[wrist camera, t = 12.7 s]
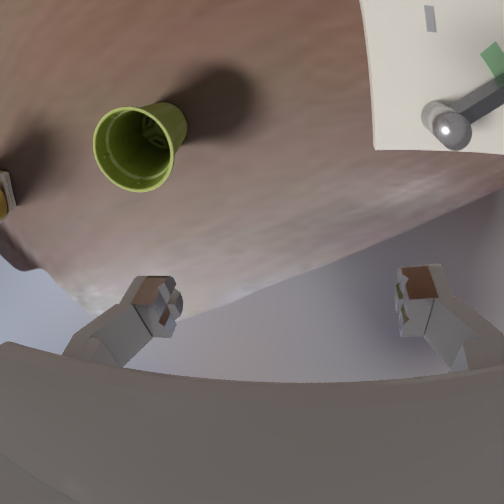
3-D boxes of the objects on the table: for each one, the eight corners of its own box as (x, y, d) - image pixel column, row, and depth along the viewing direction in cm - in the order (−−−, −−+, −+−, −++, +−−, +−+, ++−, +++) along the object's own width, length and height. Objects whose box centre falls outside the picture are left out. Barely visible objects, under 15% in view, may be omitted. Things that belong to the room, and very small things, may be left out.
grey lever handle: (430, 138, 29) (449, 157, 25) (415, 111, 28) (432, 125, 24) (534, 74, 21) (562, 85, 16) (522, 47, 19) (550, 54, 15)
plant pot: (188, 171, 39) (161, 205, 33) (125, 146, 38) (88, 175, 32) (211, 104, 33) (185, 124, 27) (140, 80, 32) (99, 96, 26)
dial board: (354, -27, 21) (356, -30, 20) (501, -4, 17) (508, -5, 16) (373, 145, 33) (375, 150, 32) (503, 150, 29) (509, 155, 28)
